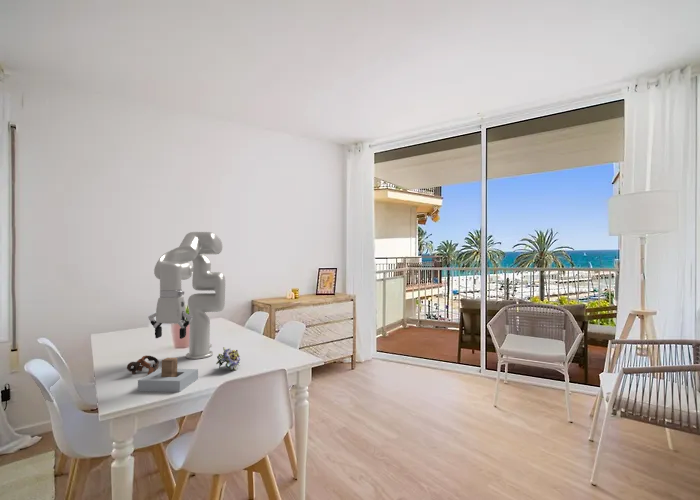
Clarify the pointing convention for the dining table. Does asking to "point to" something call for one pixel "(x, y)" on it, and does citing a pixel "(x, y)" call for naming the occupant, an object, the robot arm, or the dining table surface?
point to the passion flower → (229, 358)
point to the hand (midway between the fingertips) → (170, 337)
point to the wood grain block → (169, 367)
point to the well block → (168, 381)
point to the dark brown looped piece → (143, 365)
